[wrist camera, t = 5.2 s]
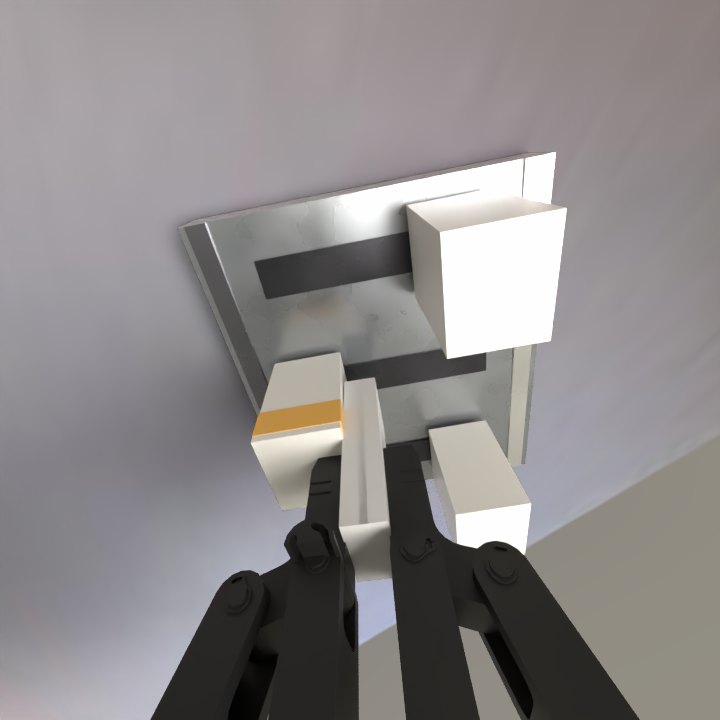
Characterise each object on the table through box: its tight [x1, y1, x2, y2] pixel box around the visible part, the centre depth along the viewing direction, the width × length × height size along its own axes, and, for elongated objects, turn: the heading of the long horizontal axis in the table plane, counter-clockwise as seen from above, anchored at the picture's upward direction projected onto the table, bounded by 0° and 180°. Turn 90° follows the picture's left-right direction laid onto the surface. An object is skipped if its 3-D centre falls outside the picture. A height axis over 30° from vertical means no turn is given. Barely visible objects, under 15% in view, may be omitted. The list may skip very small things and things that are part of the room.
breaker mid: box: [251, 352, 347, 511], centre depth 14 cm, size 3×4×5 cm
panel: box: [177, 152, 556, 480], centre depth 18 cm, size 14×16×2 cm
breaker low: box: [429, 420, 531, 554], centre depth 17 cm, size 3×4×5 cm
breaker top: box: [406, 189, 567, 359], centre depth 11 cm, size 3×4×5 cm
